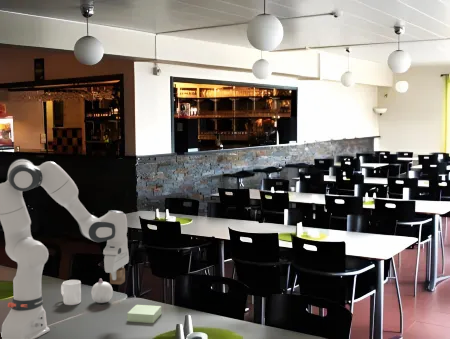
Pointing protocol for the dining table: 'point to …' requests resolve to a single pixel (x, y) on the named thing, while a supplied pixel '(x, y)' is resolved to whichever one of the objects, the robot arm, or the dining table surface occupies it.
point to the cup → (71, 292)
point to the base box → (144, 313)
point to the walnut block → (118, 276)
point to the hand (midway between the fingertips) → (117, 277)
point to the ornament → (102, 292)
